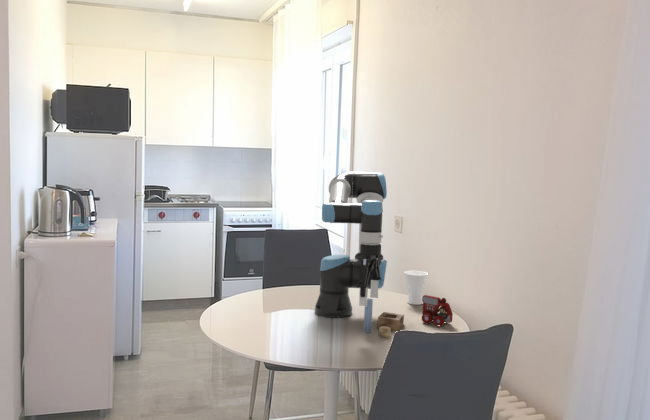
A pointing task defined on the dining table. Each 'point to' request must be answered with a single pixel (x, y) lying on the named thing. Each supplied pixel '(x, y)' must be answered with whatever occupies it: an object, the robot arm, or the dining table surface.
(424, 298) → the toy fire truck
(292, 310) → the dining table surface
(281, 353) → the dining table surface
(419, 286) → the cup
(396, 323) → the wooden block with hole
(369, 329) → the blue rectangular block
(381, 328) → the loose oak bead
